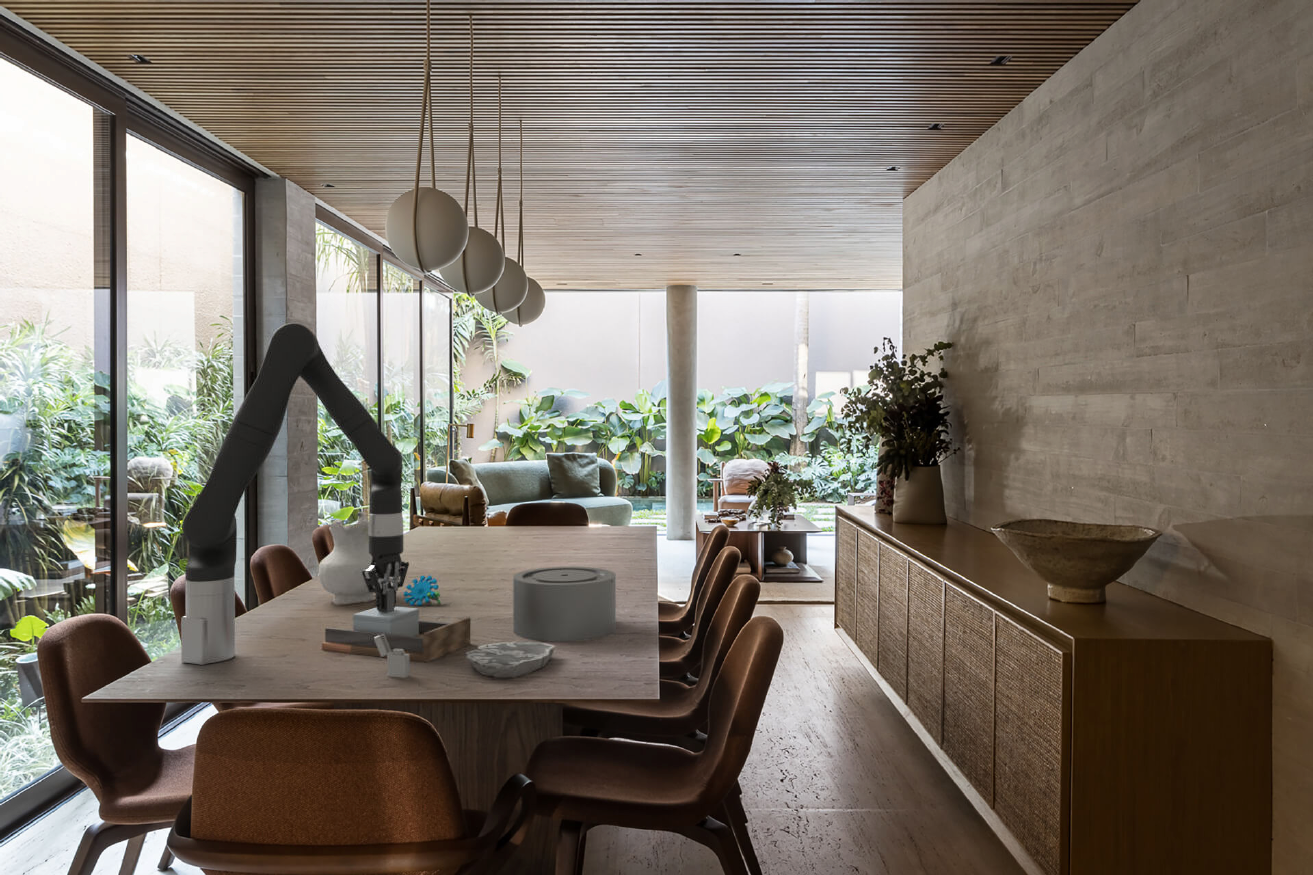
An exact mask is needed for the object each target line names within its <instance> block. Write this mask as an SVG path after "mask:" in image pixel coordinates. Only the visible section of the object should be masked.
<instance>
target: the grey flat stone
mask: <svg viewBox="0 0 1313 875" xmlns="http://www.w3.org/2000/svg"><path fill="white" fill-rule="evenodd" d="M554 651H555V645H554V644H550V643H546V642H541V641H530V640H524V641H509V642H508V641H507V642H506V641H505V642H498V643H497V642H496V643H493V642H492V643H487V644H483V645H481V644H480V645H478V646H477V647H476V649H471V650H468V651H466V652H464V655H465V659H466V660H467V661H469V662H470V663H471V666H472V667H474V669H475V670H476V671H477V672H478V673H479V674H481V675H483V676H490V677H493V678H494V679H495V678H496V679H510V678H512V679H513V678H516V677H519V676H523V675H527V674H529V673H533V672H534V671H535V672H536V671H537V670H538V669H542V668H544V667H545V666H546V664H547V663H548V661H550V659H551V657H553V654H554Z"/></svg>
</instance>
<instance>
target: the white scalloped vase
mask: <svg viewBox="0 0 1313 875" xmlns="http://www.w3.org/2000/svg"><path fill="white" fill-rule="evenodd" d="M356 515H357V521H356V523H353V524H347V525H344V524H343V521H342V519H341V518H340V519H339V518H338V519H335V520H331V521H330V523H331V525H330V526H329V531H330V533H331V536H332V540H333V544H334V545H333V549H332V551H331V552H330V553H329V554H327V556H325V557H324V558H323V559H322V560H321V561H320V562H319V565H318V572H317V573H318V579H319V582H320V583H321V586H322V588H324V590H325V591H326V592H327V593H328V594H329V593H330V594H333V595H334V598H333V600H332V602H333V605H337V606H339V605H340V606H341V605H349V604H350V605H351V604H355V603H369V602H373V601H376V595H375V594H374V593H371V592H369V590H368V587H367V585H366V582H365V580H364V577H363V574H362V571H363V570H364V569H365V570H367V569H368V568H369V567H370V566H371V561H372V556H371V555H370V554H369V520H368V517H367V515H366V513H365V512H363V511H361V510H360V511H358V512H357V513H356ZM379 579H380V578H379ZM380 580H384V579H380ZM373 587H374V585H373ZM380 587H381V588H382V584H380Z"/></svg>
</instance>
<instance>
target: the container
mask: <svg viewBox="0 0 1313 875" xmlns="http://www.w3.org/2000/svg"><path fill="white" fill-rule="evenodd" d="M616 577H617V576H616V573H615V572H614V571H612V570H609V569H605V568H599V567H589V566H588V567H586V566H554V567H553V566H551V567H540V568H531V569H527V570H523V571H519V572H517V573H514V575H513V577H512V582H513V583H512V588H513V589H512V595H513V596H512V609H513V611H512V620H513V621H512V632H513V634H515V635H516V636H517V637H518V638H519V637H520V638H523V639H527V640H529V641H530V640H531V641H535V642H550V643H551V642H552V643H554V642H555V643H565V642H566V643H571V642H579V641H582V642H583V641H588V640H594V639H599V638H602V637H605V636H608V635H611V634H612V633H614V632H615V631H616V629H617V628H616V618H617V615H616V613H617V612H616V603H617V602H616V597H617V596H616V588H617V586H616V585H617V584H616V583H617V581H616V580H617V579H616Z"/></svg>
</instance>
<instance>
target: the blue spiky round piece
mask: <svg viewBox="0 0 1313 875" xmlns="http://www.w3.org/2000/svg"><path fill="white" fill-rule="evenodd" d="M412 583H413V586H412V585H411V584H408V585H407V586H405V588H406V589H407V590H408V591H410V592H408V591H407V590H405V591H404V592H403V596H404V597H405V598H404V601H405V603H409V605H410V606H411V607H413V606H415V605H416V606H418V607H421V606H422V605H423V601H424V602H425V603H426V604H427V603H429V602H431V600H432V601H436V603H437V604H441V601H440V598H439V597H440V596H441V594H440V592H439V591H438V589H439V585H438V584H437V583H438V581H437V578H433V576H432V575H431V574H429V575H427V577H426V576H425V575H420V576H419V580H418V578H414V579H412ZM432 589H434V590H435V591H433V590H432Z"/></svg>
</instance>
